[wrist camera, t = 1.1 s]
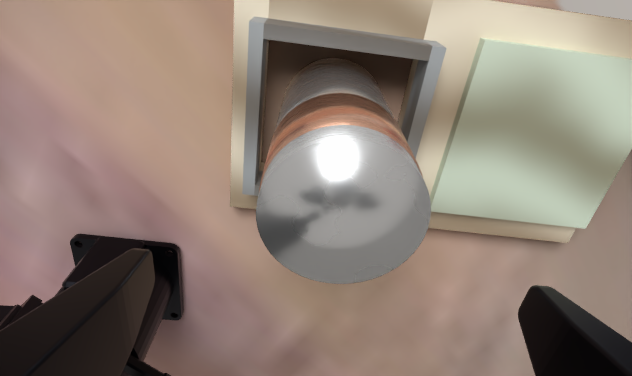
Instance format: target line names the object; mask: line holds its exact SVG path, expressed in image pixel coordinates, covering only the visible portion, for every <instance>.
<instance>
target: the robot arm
mask: <svg viewBox="0 0 632 376" xmlns="http://www.w3.org/2000/svg"><path fill="white" fill-rule="evenodd" d="M80 242H81V243H80ZM70 245H71V249H72V253H73V258H74V262H75V266H76V267H75V268H74V269H73V270H72V272H71V273H70V274H69V275H68V277H67V278H66V279H65V280H64V282H63V284H62V288H61V289H60V290H59V291H58V293H57V294H56V295H55V296H54V297H53V298H52V299H50V300H48V301H47V302H45V303H44V304H43V303H41V302H42V300H40V299H39V298H37V297H35V296H34V295H31V296H30V297H29V298H28V299H27V300H26V301H25V302H24V303H23V304H22V305H21V306H20V305H15V306H0V376H171V375H169V374H167V373H162V372H160V371H158V370H157V369H155V368H153V367H151V366H150V365H148V364H146V363H145V362H143V361H144V359H145V357H146V354H147V352H148V350H149V347H150V345H151V343H152V340H153V338H154V336H155V334H156V331H157V329H158V327H159V324H160V322H161V320H162V319H166V320H179V319H180V318H181V317H182V314H183V300H182V283H181V266H180V250H179V247H178V246H177V245H175V244H172V243H164V242H155V241H145V240H135V239H125V238H115V237H105V236H96V235H86V234H77V235H75V236H74V237H73V238H72V239H71V241H70ZM168 250H170V251H172V252H173V253H171V252H169V251H168ZM518 318H519V322H520V326H521V329H522V332H523V336H524V339H525V343H526V346H527V349H528V353H529V356H530V359H531V363H532V366H533V369H534V372H535V375H536V376H632V342H630V341H629V340H627V339H626V338H624V337H623V336H621V335H620V334H619V333H617V332H616V331H614V330H613V329H611V328H610V327H608V326H607V325H606V324H604V323H603V322H601V321H600V320H598V319H597V318H595V317H594V316H592V315H591V314H590V313H588V312H587V311H585V310H584V309H582V308H581V307H579V306H578V305H577V304H575V303H574V302H572V301H571V300H569V299H568V298H566V297H565V296H564V295H562V294H561V293H559V292H558V291H556V290H555V289H553V288H551V287H548V286H538V285H535V286H532V287H531V288H530V289H529V290H528V292H527V294H526V296H525V298H524V300H523V302H522V304H521V306H520V308H519V311H518Z"/></svg>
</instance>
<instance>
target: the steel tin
mask: <svg viewBox="0 0 632 376" xmlns="http://www.w3.org/2000/svg"><path fill="white" fill-rule="evenodd" d="M430 216H431V201H430V196H429V192H428V189H427V186H426V184H425V181H424V179H423V176H422V172H421V170H420V168H419V165H418V163H417V161H416V159H415V157H414V155H413V153H412V151H411V149H410V147H409V145H408V143H407V141H406V139H405V137H404V134H403V132H402V130H401V128H400V127H399V125H398V123H397V122H396V120H395V119H394V117H393V115H392V113H391V111H390V109H389V107H388V105H387V103H386V100H385V98H384V96H383V94H382V92H381V90H380V88H379V86H378V84H377V82H376V81H375V79H374V78H373V77H372V75H371V74H370V73H369V72H368V71H367V70H366V69H364V68H363V67H362V66H360V65H358V64H356V63H354V62H352V61H349V60H345V59H340V58H328V59H322V60H318V61H315V62H313V63H311V64H309V65H307V66H305V67H304V68H303V69H301V70H300V71H299V72H298V73H297V74H296V75H295V76H294V77H293V78H292V80H291V81H290V83H289V85H288V87H287V89H286V91H285V94H284V98H283V102H282V106H281V110H280V113H279V117H278V121H277V125H276V129H275V132H274V134H273V137H272V140H271V144H270V147H269V151H268V155H267V159H266V162H265V166H264V170H263V174H262V178H261V182H260V187H259V196H258V200H257V207H256V221H257V226H258V230H259V233H260V236H261V238H262V240H263V242H264V244H265V246H266V247H267V249H268V250H269V252H270V253H271V254H272V255H273V256H274V257H275V259H276V260H277V261H279V262H280V263H281V264H282V265H283V266H285V267H286V268H288V269H289V270H291V271H292V272H294V273H296V274H298V275H300V276H303V277H306V278H308V279H311V280H315V281H319V282H325V283H333V284H348V283H357V282H363V281H367V280H371V279H374V278H376V277H379V276H382V275H384V274H386V273H388V272H390V271H392V270H393V269H395V268H397V267H398V266H400V265H401V264H402V263H403V262H405V261H406V260H407V259H408V258H409V257H410V256H411V255H412V254H413V253H414V252H415V250H416V249H417V248H418V247H419V245H420V244H421V242H422V240H423V238H424V237H425V234H426V232H427V229H428V226H429V222H430Z"/></svg>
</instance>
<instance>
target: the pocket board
mask: <svg viewBox="0 0 632 376" xmlns="http://www.w3.org/2000/svg"><path fill="white" fill-rule="evenodd" d="M269 40H276V41H283V42H291V43H298V44H306V45H313V46H321V47H328V48H336V49H343V50H351V51H358V52H366V53H373V54H380V55H388V56H395V57H403V58H410V59H413V61H412V66H411V70H410V74H409V78H408V82H407V86H406V90H405V94H404V98H403V102H402V107H401V111H400V115H399V119H398V125H399V127H400V128H401V130H402V132H403V134H404V137H405V139H406V141H407V143H408V145H409V147H410V149H411V151H412V153H413V155H414V157H415V159H416V161H417V163H418V165H419V168H420V170H421V172H422V176H423V179H424V181H425V184H426V186H427V189H428V192H429V196H430V201H431V216H430V222H429V226H428V228H434V229H443V230H452V231H461V232H470V233H480V234H489V235H498V236H507V237H517V238H526V239H535V240H544V241H554V242H563V243H568V242H569V240H570V238H571V236H572V235H573V233H574V231H575V229H576V228H584V229H586V227H587V225H588V223H589V222H590V220H591V218H592V216H593V215H594V213H595V211H596V210H597V208H598V206H599V204H600V203H601V201H602V199H603V197H604V196H605V194H606V192H607V190H608V189H609V187H610V185H611V184H612V182H613V180H614V178H615V177H616V175H617V173H618V171H619V170H620V168H621V166H622V165H623V163H624V161H625V159H626V158H627V156H628V154H629V152H630V151H631V149H632V21H631V20H624V19H617V18H610V17H603V16H596V15H590V14H583V13H576V12H569V11H562V10H555V9H548V8H541V7H534V6H527V5H521V4H514V3H507V2H500V1H493V0H234V38H233V86H232V134H231V182H230V207H240V208H249V209H256V207H257V200H258V196H259V187H260V182H261V178H262V174H263V170H264V166H265V163H264V162H261V159H262V143H263V127H264V112H265V96H266V81H267V65H268V49H269Z"/></svg>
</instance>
